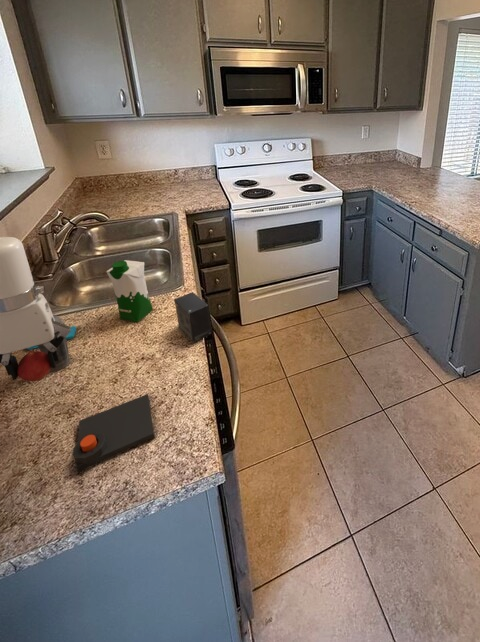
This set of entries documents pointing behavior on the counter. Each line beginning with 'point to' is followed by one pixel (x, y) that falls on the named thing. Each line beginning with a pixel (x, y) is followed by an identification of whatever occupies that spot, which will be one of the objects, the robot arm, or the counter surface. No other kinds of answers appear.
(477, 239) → the counter surface
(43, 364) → the onion
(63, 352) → the beverage cup
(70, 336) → the sponge
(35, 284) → the robot arm
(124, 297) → the milk carton
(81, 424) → the scale
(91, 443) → the power button
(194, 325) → the small box
